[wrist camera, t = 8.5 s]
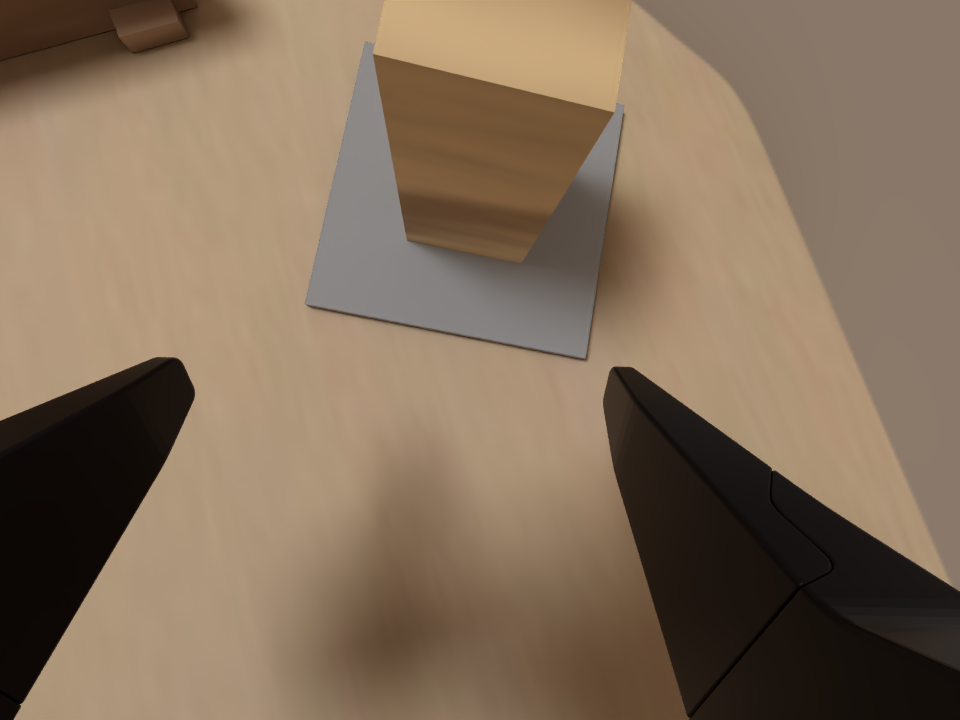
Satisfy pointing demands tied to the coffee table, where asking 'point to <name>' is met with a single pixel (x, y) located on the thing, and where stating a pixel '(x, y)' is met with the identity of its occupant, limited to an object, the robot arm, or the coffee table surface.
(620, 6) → the letter block
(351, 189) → the felt mat
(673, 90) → the coffee table surface
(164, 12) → the walnut screen
